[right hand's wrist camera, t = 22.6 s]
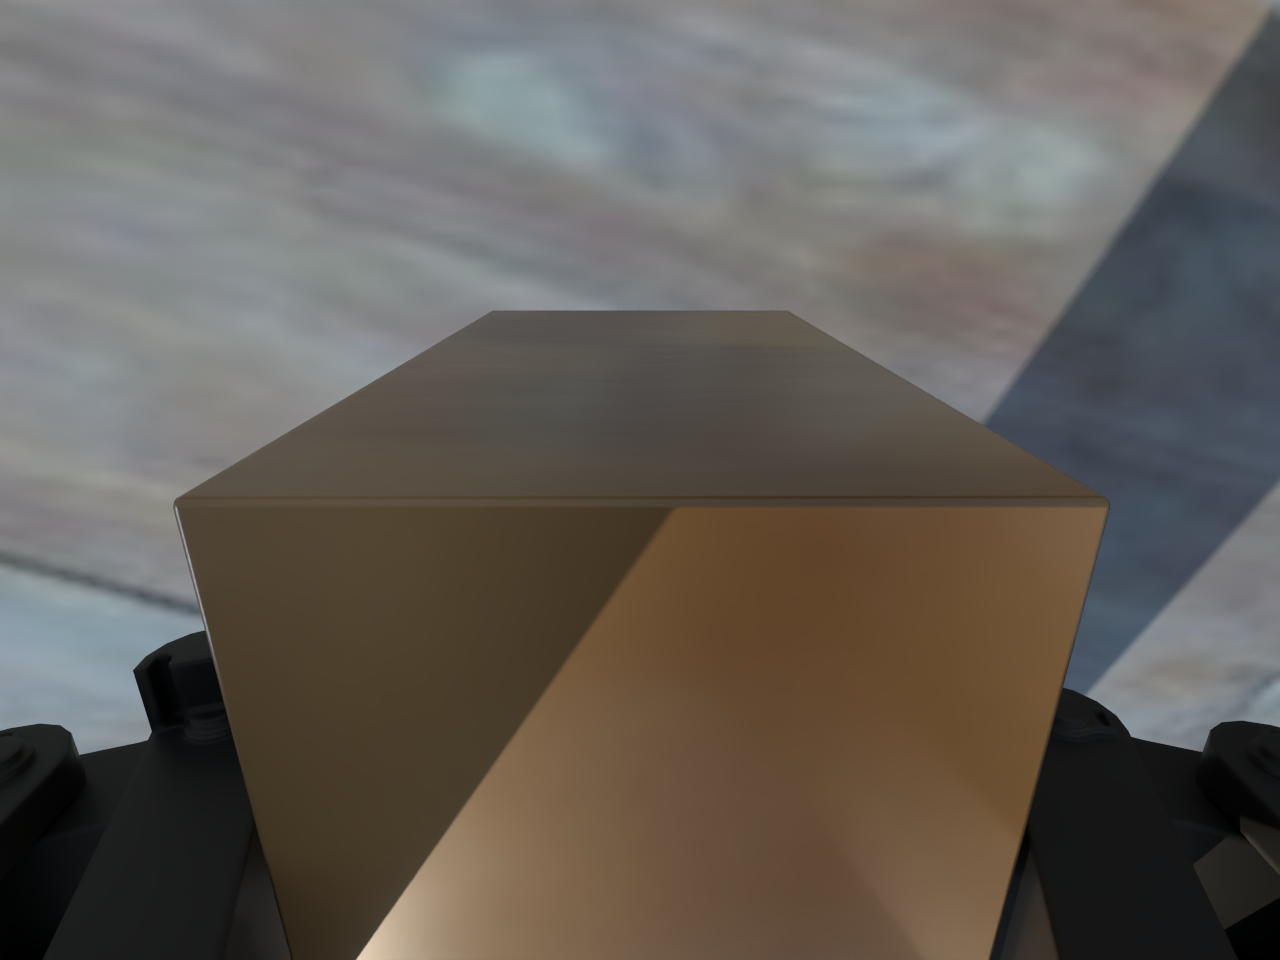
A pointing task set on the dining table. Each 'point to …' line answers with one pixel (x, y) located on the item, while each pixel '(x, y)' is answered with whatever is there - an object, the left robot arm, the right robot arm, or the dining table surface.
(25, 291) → the dining table surface
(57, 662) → the dining table surface
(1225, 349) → the dining table surface
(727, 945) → the wooden block
